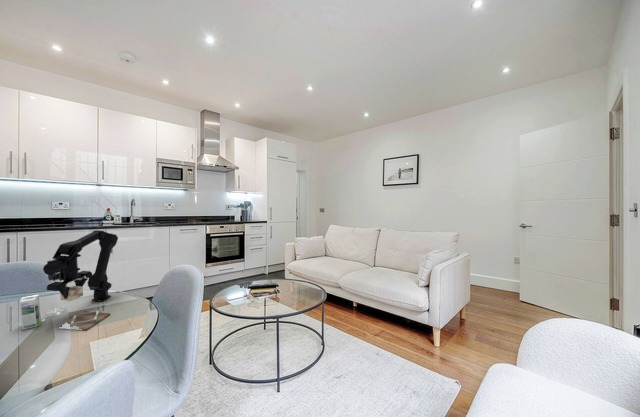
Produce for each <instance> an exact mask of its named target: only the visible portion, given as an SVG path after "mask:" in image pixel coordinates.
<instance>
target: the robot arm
mask: <svg viewBox="0 0 640 417" xmlns="http://www.w3.org/2000/svg"><path fill="white" fill-rule="evenodd" d="M118 240H119V237H118V235H117V234H114V233H109V232H106V231H104V230H98V229H96V230H93V231H91V232H90V233H88V234H87V235H86V234H85V235H84V236H82V237H80V238H79V239H78V238H77V239H76V240H73V241H67V242H63V243H61V244H60V245H59V246H58V248H57V250H56V252H55V253H54V255H53V257H52V260H48V261H47V262H46V264H45V265H44V266H43V268H42V269H43V273H44V274H45V275H48V276H47V279H48V281H53V282H52V283H49V284H48V285H46V291H51V292H59V294H60V293H61V294H62V296H63V297H64V299H67V298H68V293H69V288H70V286H68V284H70V283H73V282H74V286H82V287H83V286H84V285H85V283H87V287H88V288H89V290H90V291H93V298H92V299H91V301H93V302H104V301H105V300H107V299H109V298H110V297H111V295H110V294H109V290H110V289H111V288H112V285H113V284H112V283H111V282H109V281H108V280H109V278H108V276H107V274H106V273H107V269H108V266H109V265H108V264H109V261H110V258H111V252H112V249H113V248H114V247H115V246H116V245H117V243H118ZM96 241H98V245H99V247H100V250H99V255H98V260H97V262H96V267H95V270H94V273H93V272H92V271H90V270H82V271H80V270H81V268H80V267H78V258H79V257H81V256H82V255H81V254H80V252H81V251H82V250H83V248H85V247H86V246H88V245H90V244H91V243H93V242H96ZM58 280H59V281H58ZM86 281H87V282H86Z"/></svg>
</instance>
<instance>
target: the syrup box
mask: <svg viewBox="0 0 640 417" xmlns="http://www.w3.org/2000/svg"><path fill="white" fill-rule="evenodd" d="M39 294H40V293H39ZM39 294H34V295H29V296H23V297H21V298H20V301H19V309H20V316H21V325H22V330H24V331H25V330H27V329H28V330H29V329H31V328H36V327H40V325H41V323H42V315H41V306H40V305H41V304H40V295H39Z"/></svg>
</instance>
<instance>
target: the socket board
mask: <svg viewBox="0 0 640 417" xmlns="http://www.w3.org/2000/svg"><path fill="white" fill-rule="evenodd" d="M110 316H111V313H109V312H101V311H100V310H99V309H98V310H93V311H85V310H83V312H81V313H75V314H74V315H73V317H72V318H70V319H69V320H67V321H66V322H67V323H68V324H70V327H73V326H77V327H79V329H82V330H84V331H83V332H87V331H88V330H90V329H91V328H93V327H95V326H96V325H97V324H99V323H100V322H102V321H104V320H106V318H108V317H110ZM59 327H62V324H60V325H59V326H57V329H58V328H59Z"/></svg>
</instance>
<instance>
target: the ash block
mask: <svg viewBox="0 0 640 417" xmlns="http://www.w3.org/2000/svg"><path fill="white" fill-rule="evenodd" d="M69 287H70V288H69V293H68V298H67V299H64V297H63V296H62V294H61V293H60V292H59V295H60V296H59V297H60V300H61V301H70V302H73V301H74V300H77V299H79V298H81V297H82V296H84V291H83V290H84V288H83V287H82V286H76V285H70V286H69Z"/></svg>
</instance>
